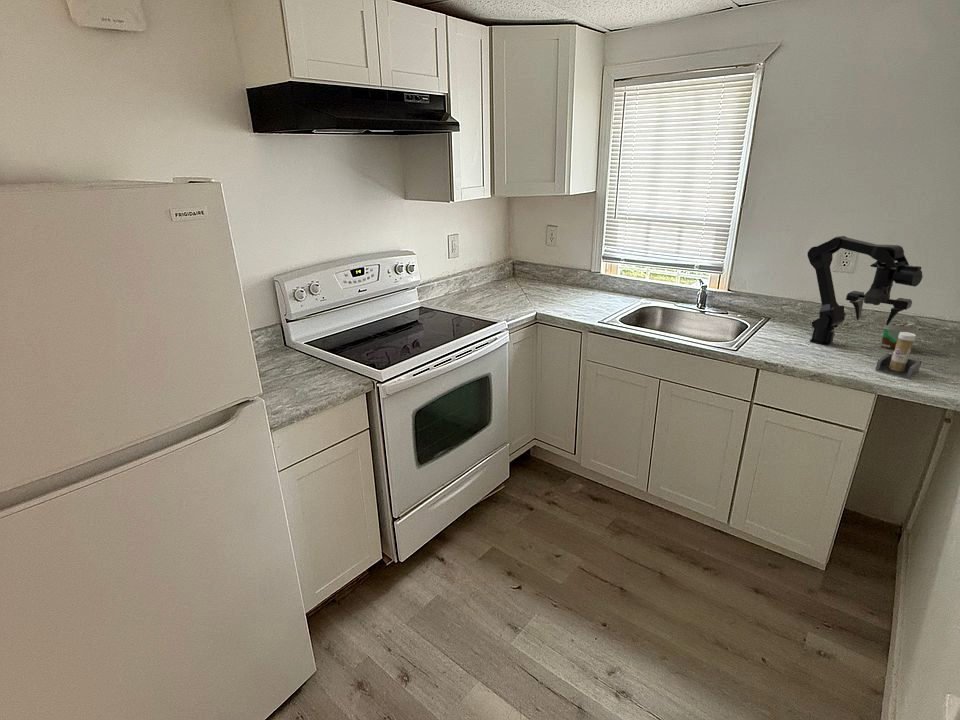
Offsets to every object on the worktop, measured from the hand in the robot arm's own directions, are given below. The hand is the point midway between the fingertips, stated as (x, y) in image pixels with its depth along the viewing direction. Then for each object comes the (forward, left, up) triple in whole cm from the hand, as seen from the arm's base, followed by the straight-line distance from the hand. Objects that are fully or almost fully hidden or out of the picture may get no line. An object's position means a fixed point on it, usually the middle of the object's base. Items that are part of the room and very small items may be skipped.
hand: (872, 322), depth 192 cm
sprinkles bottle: (+13, -9, -13) cm, 20 cm away
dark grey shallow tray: (+13, -9, -13) cm, 20 cm away
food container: (+6, +18, -13) cm, 23 cm away
